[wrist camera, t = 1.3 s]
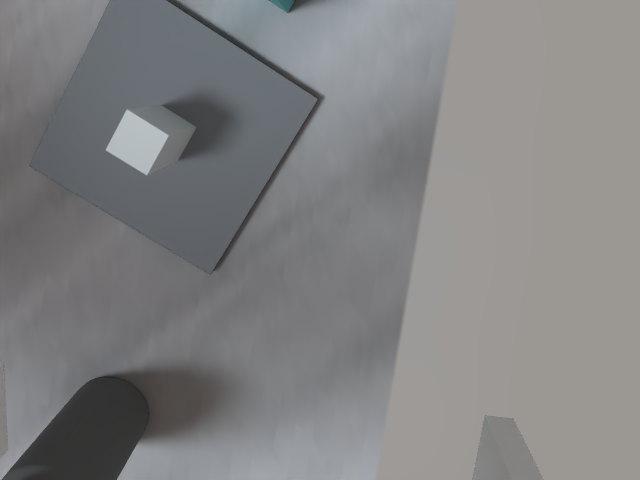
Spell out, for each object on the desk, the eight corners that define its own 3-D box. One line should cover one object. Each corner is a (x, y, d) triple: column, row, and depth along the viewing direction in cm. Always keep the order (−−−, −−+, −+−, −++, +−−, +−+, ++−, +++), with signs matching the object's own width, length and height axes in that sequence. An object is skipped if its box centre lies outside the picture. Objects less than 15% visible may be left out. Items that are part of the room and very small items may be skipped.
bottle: (127, 365, 43) (18, 507, 29) (162, 429, 44) (75, 596, 30) (60, 390, 44) (-79, 542, 29) (96, 453, 45) (-20, 627, 31)
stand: (34, 164, 39) (-29, 181, 33) (128, -25, 36) (78, -50, 29) (212, 271, 41) (186, 308, 34) (318, 98, 38) (312, 102, 31)
